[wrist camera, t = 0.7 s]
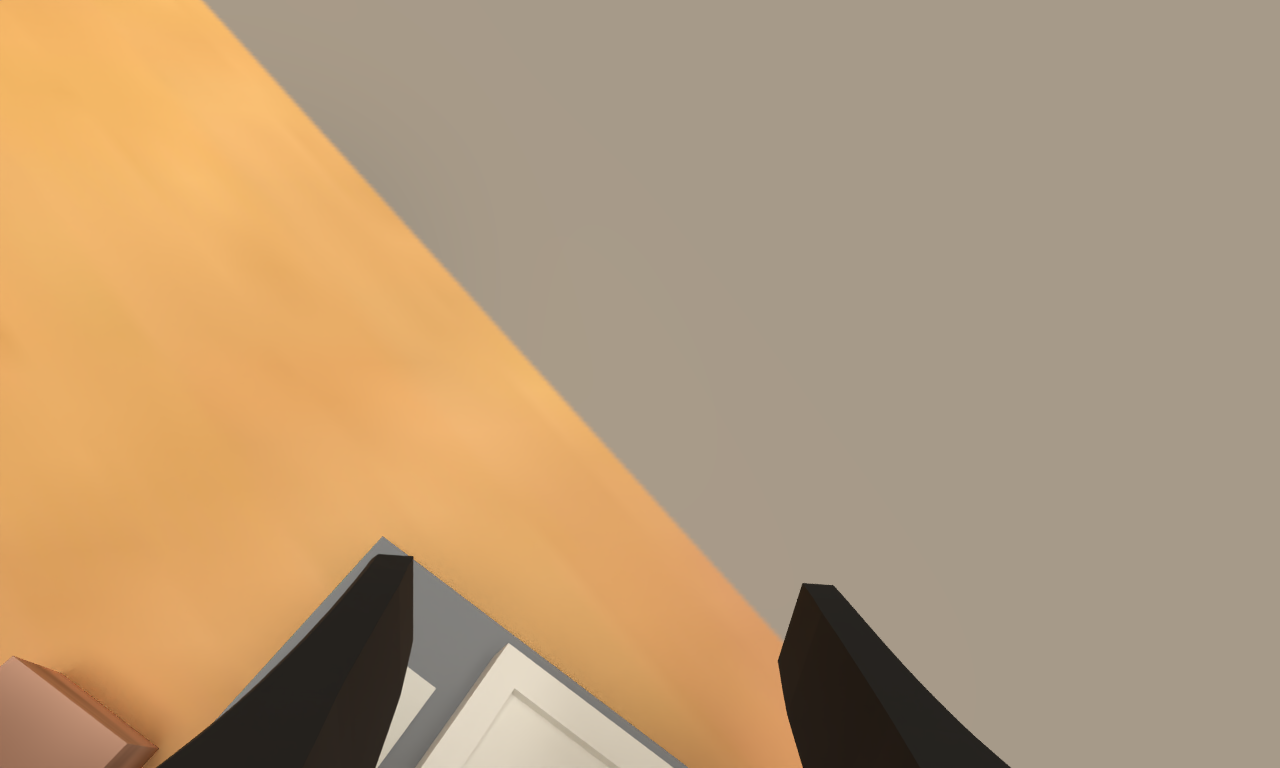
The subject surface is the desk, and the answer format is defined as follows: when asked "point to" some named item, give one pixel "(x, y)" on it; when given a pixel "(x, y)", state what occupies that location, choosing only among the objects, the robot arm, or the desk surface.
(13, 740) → the terracotta cube
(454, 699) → the grey mounting plate
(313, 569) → the desk surface
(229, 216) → the desk surface
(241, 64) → the desk surface
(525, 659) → the socket base
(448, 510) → the desk surface
